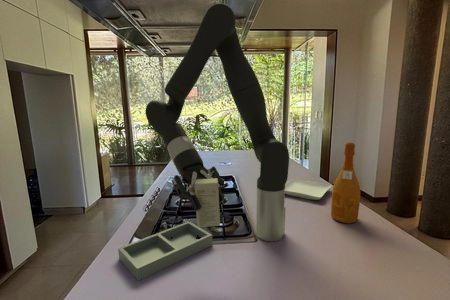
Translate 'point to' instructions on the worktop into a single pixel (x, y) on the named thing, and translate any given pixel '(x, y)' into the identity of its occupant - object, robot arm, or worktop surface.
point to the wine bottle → (346, 190)
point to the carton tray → (163, 249)
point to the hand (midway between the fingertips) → (211, 205)
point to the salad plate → (306, 189)
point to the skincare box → (207, 202)
